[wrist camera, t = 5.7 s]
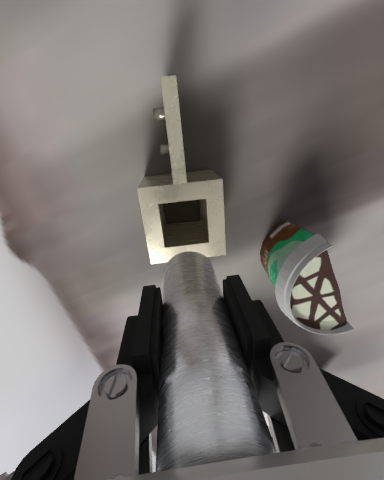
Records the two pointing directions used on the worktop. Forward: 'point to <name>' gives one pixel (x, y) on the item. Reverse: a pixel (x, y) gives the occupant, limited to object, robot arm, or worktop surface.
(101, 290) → the worktop surface
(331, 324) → the food container
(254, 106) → the worktop surface
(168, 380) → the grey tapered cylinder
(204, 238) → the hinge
